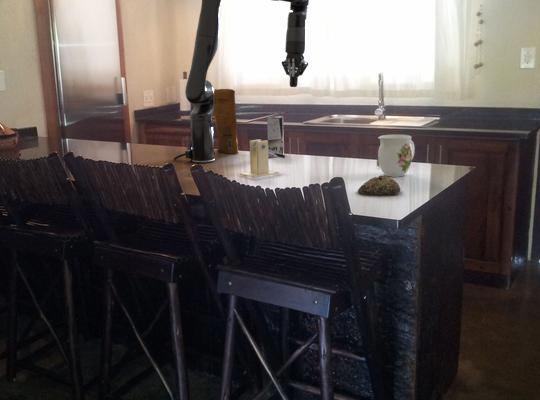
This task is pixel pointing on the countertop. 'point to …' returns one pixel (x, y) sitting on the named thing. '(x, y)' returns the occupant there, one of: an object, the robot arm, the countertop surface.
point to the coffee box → (275, 135)
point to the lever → (271, 152)
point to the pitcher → (395, 154)
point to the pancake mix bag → (226, 120)
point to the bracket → (259, 159)
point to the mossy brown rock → (380, 186)
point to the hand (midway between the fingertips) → (293, 86)
